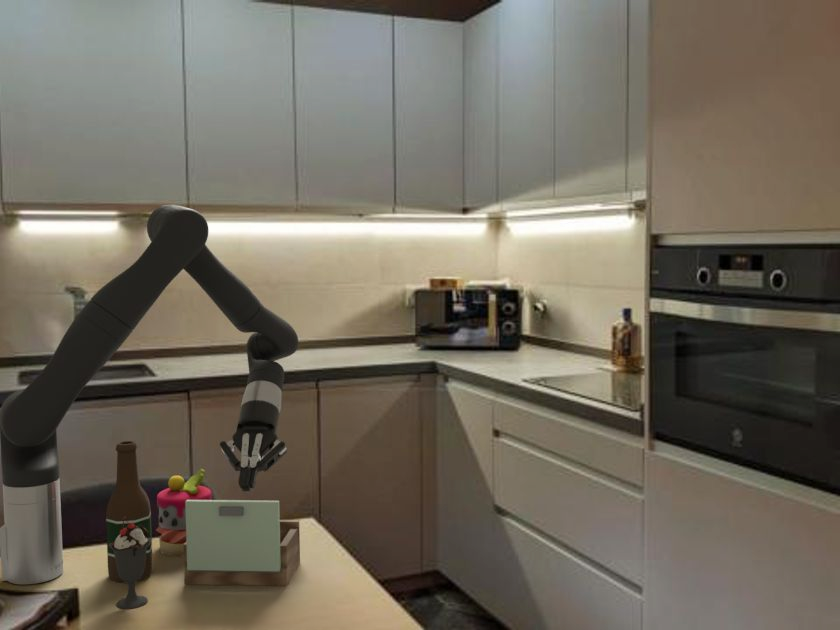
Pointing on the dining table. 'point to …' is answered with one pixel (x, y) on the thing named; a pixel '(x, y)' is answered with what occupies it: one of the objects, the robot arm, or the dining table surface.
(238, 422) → the robot arm
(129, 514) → the beer bottle
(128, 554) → the sundae
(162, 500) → the cake
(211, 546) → the pale green panel
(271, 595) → the dining table surface
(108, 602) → the dining table surface
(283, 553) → the wooden box
